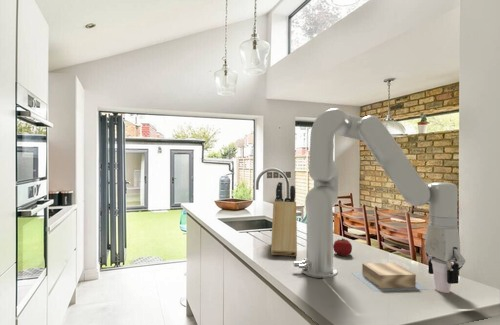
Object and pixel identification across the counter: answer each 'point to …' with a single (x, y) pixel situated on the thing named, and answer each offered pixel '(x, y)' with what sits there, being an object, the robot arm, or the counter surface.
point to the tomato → (342, 247)
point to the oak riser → (388, 275)
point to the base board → (376, 288)
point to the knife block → (284, 224)
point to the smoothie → (441, 275)
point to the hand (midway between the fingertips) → (442, 277)
